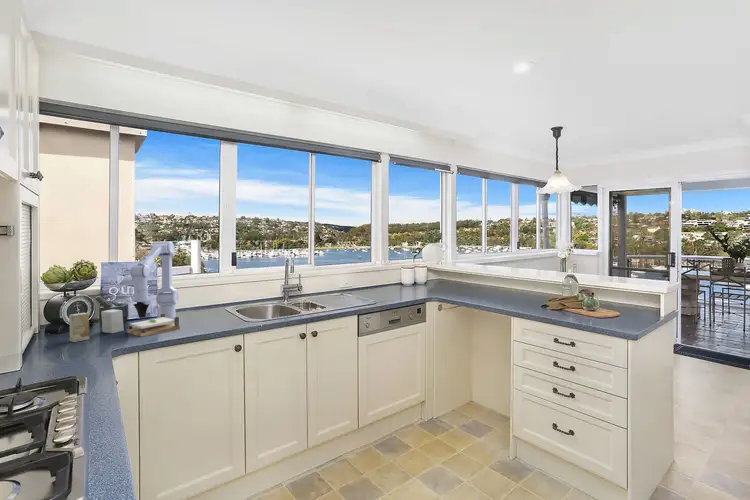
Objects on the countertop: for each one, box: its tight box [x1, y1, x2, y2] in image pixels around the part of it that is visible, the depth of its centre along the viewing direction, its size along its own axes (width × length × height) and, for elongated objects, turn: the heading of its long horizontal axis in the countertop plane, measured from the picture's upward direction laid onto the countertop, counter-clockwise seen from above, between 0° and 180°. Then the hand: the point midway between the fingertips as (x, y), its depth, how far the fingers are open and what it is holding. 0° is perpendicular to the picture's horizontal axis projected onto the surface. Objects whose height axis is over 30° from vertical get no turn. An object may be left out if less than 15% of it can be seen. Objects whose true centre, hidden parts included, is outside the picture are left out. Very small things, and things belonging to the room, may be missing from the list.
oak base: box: [126, 314, 181, 338], centre depth 189 cm, size 16×18×6 cm
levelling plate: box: [129, 317, 175, 329], centre depth 189 cm, size 12×17×2 cm
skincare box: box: [68, 312, 90, 343], centre depth 174 cm, size 6×4×12 cm
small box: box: [100, 308, 124, 334], centre depth 189 cm, size 8×6×10 cm
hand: (142, 317), depth 185 cm, fingers closed
